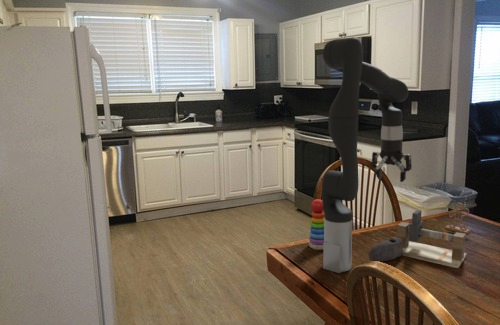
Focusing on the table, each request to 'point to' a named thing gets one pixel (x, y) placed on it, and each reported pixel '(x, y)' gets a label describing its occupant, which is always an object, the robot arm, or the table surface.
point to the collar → (415, 227)
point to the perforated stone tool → (386, 250)
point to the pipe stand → (433, 247)
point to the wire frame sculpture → (460, 228)
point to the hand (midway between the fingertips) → (390, 180)
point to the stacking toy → (317, 225)
